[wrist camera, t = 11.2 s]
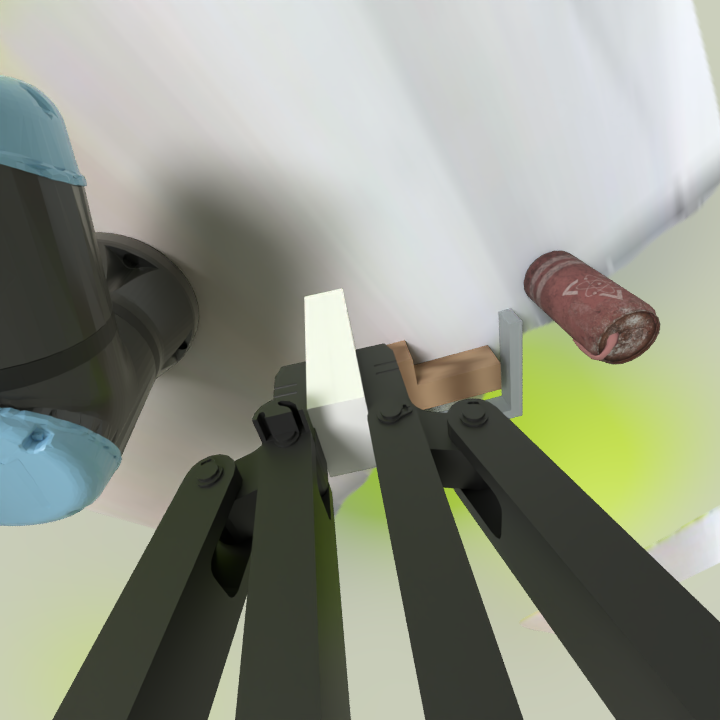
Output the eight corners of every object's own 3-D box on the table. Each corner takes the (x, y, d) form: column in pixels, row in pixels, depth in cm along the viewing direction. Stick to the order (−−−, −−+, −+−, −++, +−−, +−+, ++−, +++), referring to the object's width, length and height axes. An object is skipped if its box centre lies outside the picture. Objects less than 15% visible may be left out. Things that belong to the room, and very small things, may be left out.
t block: (390, 418, 56) (396, 440, 53) (372, 348, 49) (377, 368, 46) (490, 392, 56) (502, 412, 53) (485, 318, 49) (499, 335, 46)
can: (509, 283, 47) (578, 350, 35) (553, 238, 44) (643, 294, 33) (540, 310, 49) (615, 380, 38) (584, 268, 47) (677, 330, 36)
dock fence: (432, 422, 58) (438, 437, 55) (416, 334, 49) (423, 347, 47) (512, 400, 57) (522, 415, 55) (510, 308, 49) (522, 320, 46)
